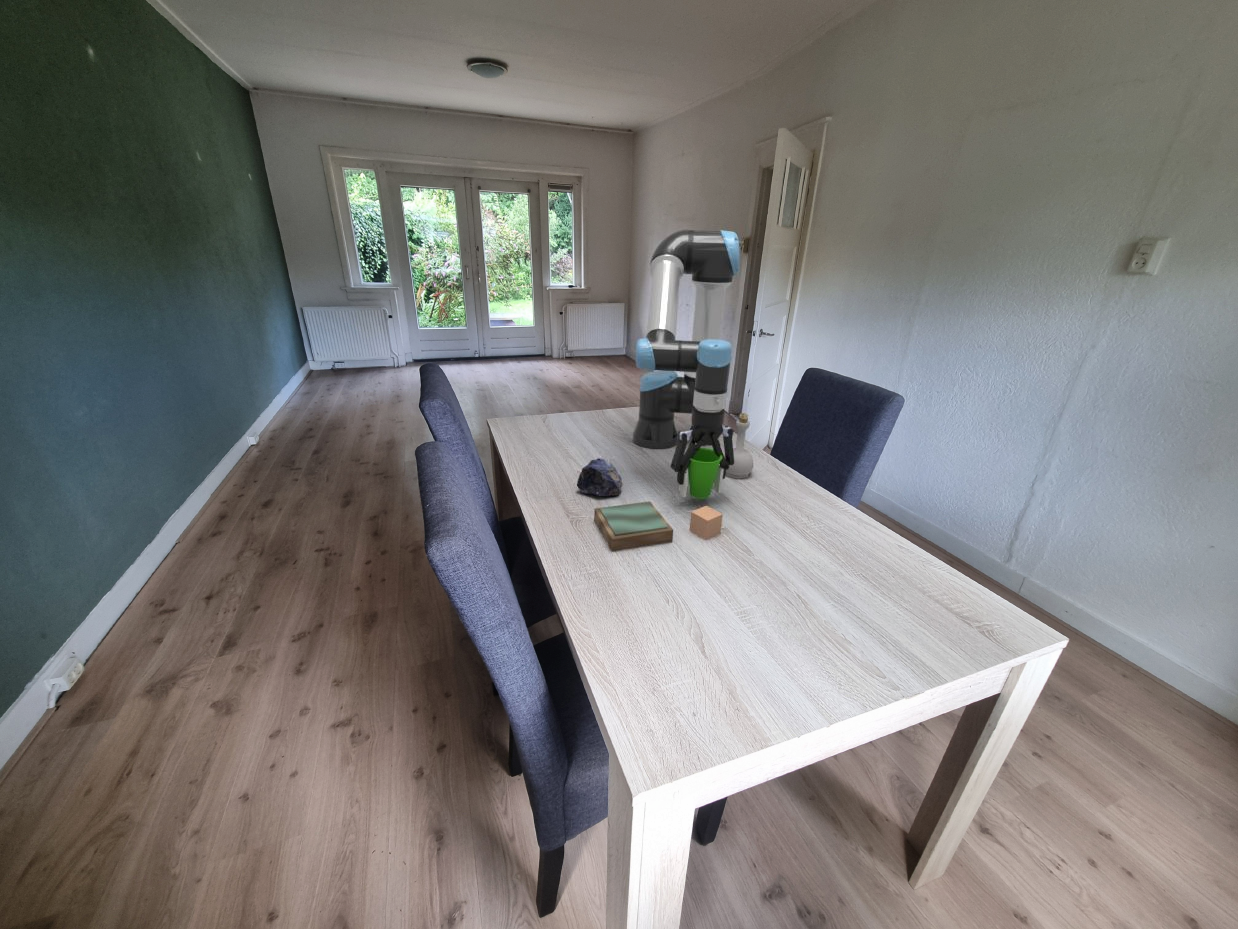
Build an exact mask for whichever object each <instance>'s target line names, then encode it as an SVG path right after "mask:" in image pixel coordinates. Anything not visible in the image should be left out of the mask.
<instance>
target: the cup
mask: <svg viewBox="0 0 1238 929" xmlns="http://www.w3.org/2000/svg"><path fill="white" fill-rule="evenodd" d="M690 460H691V463H690V465H689V467H688V468H687V473H688V488H689V494H690V496H691V497H693V498H695V499H699V500H704V499H707V498H709V497H710V496H711V492H712V489H713V485H714V480H715V477H716V473H717V470H718V466H720V464H719V463H720V461H721V460H722V455H721V456H720V457H718V456H717V455H716V454H715V452H714V450H713V448H708V447H701V448H700V449H699V450H698V451H697V452H696V454H695V456H694V458H693V459H690Z"/></svg>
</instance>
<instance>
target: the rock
mask: <svg viewBox="0 0 1238 929" xmlns="http://www.w3.org/2000/svg"><path fill="white" fill-rule="evenodd" d="M576 482H577V483H576V486H577V489H578V490H579V491H581V492H582V493H584V494H587V495H591V496H593V495H597V496H599V497H605V496H617V495H619V494H620V492H621V489H622V486H623V485H624V483H623V478H622V476H621V475H620V474H619V473H618V471H617V468H616V466H615V465H614V464H612V463H610V462H608V461H607V460H606V459H604V458H600V457H598V458H596V459H592V460H590V461H589V463H588V464H587V465H585V466H584V467H582V468H581V472H580V473H579V475H578V479H577V481H576Z"/></svg>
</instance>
